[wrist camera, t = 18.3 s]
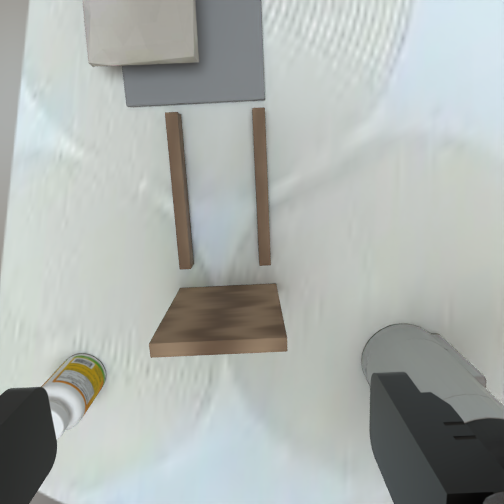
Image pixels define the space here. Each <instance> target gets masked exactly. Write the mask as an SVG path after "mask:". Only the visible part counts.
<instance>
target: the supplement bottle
mask: <svg viewBox="0 0 504 504" xmlns="http://www.w3.org/2000/svg"><path fill="white" fill-rule="evenodd" d="M105 380H106V372H105V369H104V367H103V365H102V363H101V362H100V361H99V360H98V359H96V358H95V357H93V356H90V355H87V354H77V355H74V356H71V357H70V358H68V359H67V360H66V361H65V362H64V363H63V364H62V365H61V366H60V367H59V368H58V369H57V370H56V372H55V373H54V374H53V375H52V376H51V377H50V378H49V379H48V380H47V381H46V382H45V383H44V384H43V385H42V386H41V387H43V388H44V389H45V390H46V391H47V394H48V397H49V402H50V408H51V413H52V418H53V424H54V429H55V434H56V440H57V439H59V438H60V437H61V436H62V434H63V433H64V431H65V430H68V429H71V428H72V427H74V426H75V425H77V424H78V423H79V421H80V420H81V419H82V417H83V416H84V414H85V413H86V411H87V410H88V408H89V407H90V405H91V404H92V402H93V401H94V399H95V397H96V396H97V394H98V393H99V391H100V390H101V388H102V387H103V385H104V383H105Z"/></svg>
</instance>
